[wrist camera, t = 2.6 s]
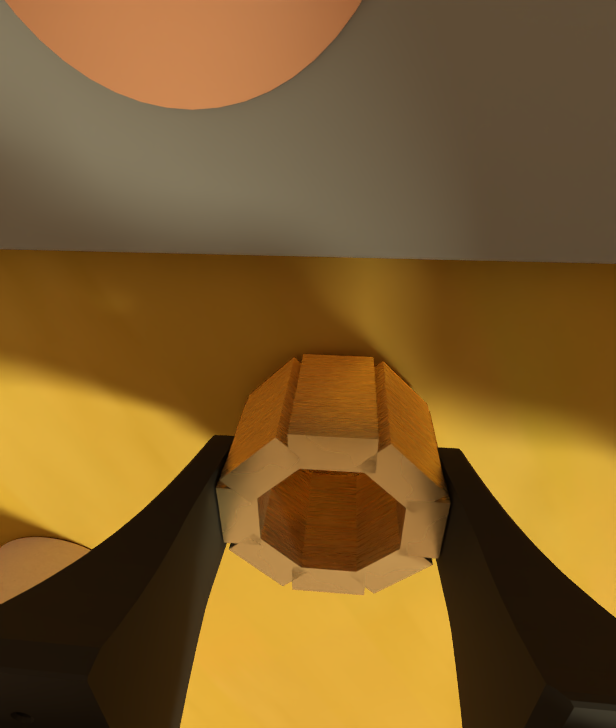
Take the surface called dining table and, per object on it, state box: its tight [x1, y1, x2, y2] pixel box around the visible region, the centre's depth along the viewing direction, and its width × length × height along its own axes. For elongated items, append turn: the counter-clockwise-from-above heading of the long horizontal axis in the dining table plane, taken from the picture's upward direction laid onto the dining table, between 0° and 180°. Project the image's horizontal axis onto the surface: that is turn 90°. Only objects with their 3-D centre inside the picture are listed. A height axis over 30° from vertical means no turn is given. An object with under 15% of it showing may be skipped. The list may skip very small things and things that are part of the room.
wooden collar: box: [216, 354, 451, 595], centre depth 13 cm, size 6×6×4 cm
